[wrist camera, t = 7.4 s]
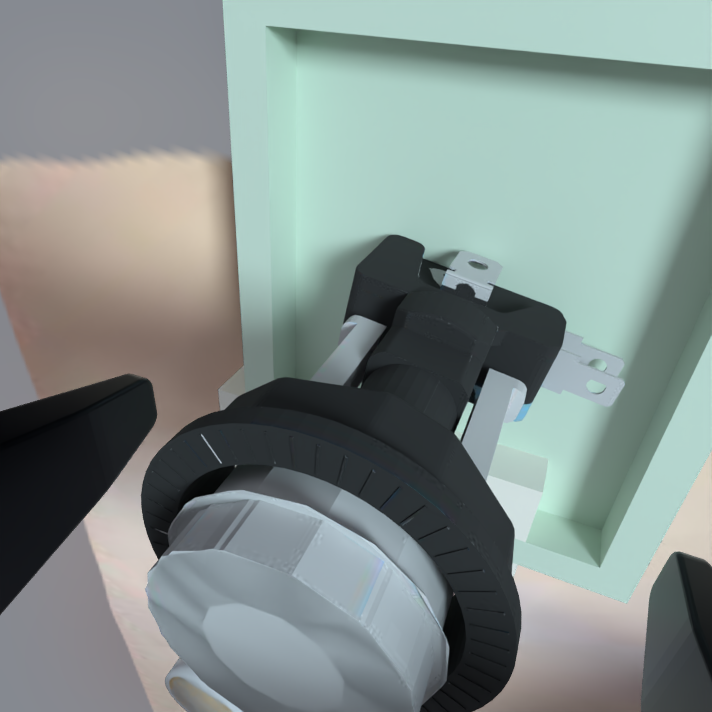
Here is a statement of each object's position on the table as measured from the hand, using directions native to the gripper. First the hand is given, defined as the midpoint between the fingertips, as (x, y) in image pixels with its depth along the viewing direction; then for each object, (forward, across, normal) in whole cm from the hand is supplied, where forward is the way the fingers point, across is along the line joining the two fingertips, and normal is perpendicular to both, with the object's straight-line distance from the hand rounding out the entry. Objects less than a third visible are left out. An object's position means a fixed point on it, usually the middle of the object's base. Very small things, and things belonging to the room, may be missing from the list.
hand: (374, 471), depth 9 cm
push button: (+7, -1, 0) cm, 7 cm away
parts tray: (+7, 0, 0) cm, 7 cm away
